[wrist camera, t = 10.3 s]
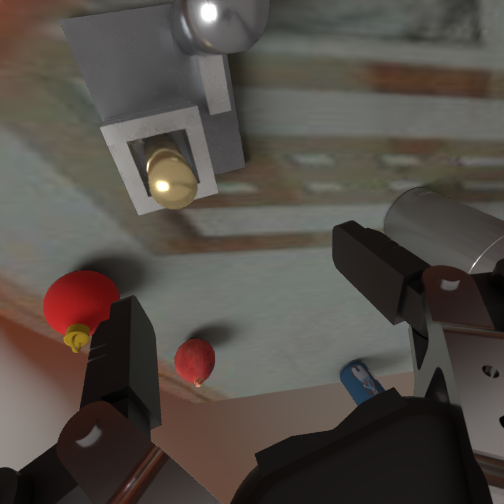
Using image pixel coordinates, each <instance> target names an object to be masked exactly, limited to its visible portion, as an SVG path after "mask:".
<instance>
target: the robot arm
mask: <svg viewBox="0 0 504 504" xmlns="http://www.w3.org/2000/svg"><path fill="white" fill-rule="evenodd" d="M384 228H385V233H386V235H387V236H388V237H387V236H386V235H384V234H383V233H381V232H379V231H376V230H373V229H370V228H364V227H362V226H361V225H359V224H358V223H357V222H355V221H353V220H351V221H348V222H345V223H342V224H339V225H336V226H334V228H333V235H332V257H333V262H334V264H335V266H336V268H337V269H338V271H339V272H340V273H341V274H342V275H343V276H344V277H345V278H346V279H347V280H348V281H349V282H350V283H351V284H352V285H353V286H354V287H355V288H356V289H357V290H358V291H359V292H360V293H362V294H363V295H364V296H365V297H366V298H367V299H368V300H369V301H370V302H371V303H372V304H373V305H374V306H375V307H376V308H377V309H378V310H379V311H380V312H381V313H382V314H383V315H384V316H385V317H386V318H387V319H388V320H389V321H390V322H391V323H392V324H393V325H396V324H398V323H401V322H403V321H406V322H407V323H408V324H409V329H408V332H409V339H410V347H411V354H412V362H413V369H414V377H415V378H414V380H415V382H414V383H415V384H414V396H403V397H401V395H400V394H399V393H398V392H397V390H396V389H395V388H394V387H393V388H391V389H389V390H387V391H385V392H382V393H380V394H378V395H376V396H374V397H372V398H370V399H368V400H366V401H364V402H362V403H361V404H360V405H359V406H358V407H357V408H356V409H355V410H354V411H353V412H352V413H351V414H349V415H348V416H347V417H346V418H345V419H344V420H343V421H342V422H341V423H340V424H339V425H338V426H337V427H336V428H334V429H333V430H329V431H323V432H316V433H309V434H303V435H296V436H291V437H289V438H287V439H285V440H282V441H281V442H278V443H276V444H274V445H272V446H270V447H268V448H266V449H264V450H262V451H260V452H258V453H255V457H256V460H257V463H258V465H257V466H256V467H255V468H254V469H253V470H252V471H251V472H250V473H249V474H248V475H247V477H246V478H245V479H244V480H243V482H242V483H241V485H240V486H239V488H238V489H237V491H236V493H235V495H234V497H233V499H232V501H231V503H230V504H504V221H503V220H501V219H498V218H496V217H493V216H491V215H489V214H486V213H484V212H481V211H479V210H477V209H474V208H472V207H469V206H467V205H465V204H462V203H460V202H457V201H455V200H453V199H450V198H448V197H445V196H443V195H441V194H438V193H437V192H434V191H431V190H428V189H426V188H421V187H419V188H414V189H412V190H410V191H408V192H406V193H405V194H403V195H402V196H401V197H400V198H399V199H398V200H397V201H396V202H395V203H394V204H393V206H392V207H391V209H390V210H389V212H388V214H387V217H386V220H385V225H384ZM88 361H89V363H87V369H86V374H85V380H84V386H83V393H82V398H81V404H80V409H79V411H77V412H76V413H75V414H74V415H73V416H72V417H71V418H70V419H69V420H68V422H67V423H66V424H65V426H64V428H63V429H62V431H61V433H60V435H59V438H58V441H57V443H56V444H55V445H54V446H52V447H51V448H50V449H48V450H47V451H46V452H44V453H43V454H42V455H40V456H39V457H37V458H36V459H35V460H33V461H32V462H31V463H29V464H28V465H26V466H25V467H24V468H22V469H21V470H20V471H18V472H17V471H15V470H13V469H11V468H8V467H2V468H0V504H222V503H221V502H220V501H219V500H218V499H217V498H216V497H214V496H213V495H212V494H211V493H210V492H209V491H208V490H207V489H206V488H205V487H203V486H202V485H201V484H200V483H199V482H198V481H197V480H196V479H195V478H193V477H192V476H191V475H190V474H189V473H188V472H187V471H186V470H185V469H183V468H182V467H181V466H180V465H179V464H178V463H177V462H176V461H175V460H174V459H172V458H171V457H170V456H169V455H168V454H167V453H166V452H165V451H163V450H162V449H161V448H159V447H157V446H156V445H155V444H154V443H153V442H152V441H151V436H150V430H151V429H153V428H156V427H158V426H160V425H162V424H161V409H160V395H159V379H158V365H157V350H156V337H155V332H154V329H153V326H152V324H151V322H150V320H149V318H148V317H147V315H146V313H145V311H144V310H143V308H142V306H141V305H140V303H139V301H138V299H137V298H136V297H135V296H134V295H132V296H129V297H126V298H123V299H120V300H118V301H115V302H112V303H111V306H110V315H109V319H107V320H104V321H101V322H100V323H99V325H98V327H97V328H96V330H95V332H94V333H93V335H92V339H91V345H90V352H89V357H88Z"/></svg>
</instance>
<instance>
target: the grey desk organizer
mask: <svg viewBox="0 0 504 504" xmlns="http://www.w3.org/2000/svg"><path fill="white" fill-rule="evenodd" d="M269 11H270V0H175V1H174V3H172V4H165V5H158V6H151V7H145V8H138V9H131V10H124V11H117V12H110V13H103V14H96V15H89V16H82V17H76V18H69V19H62V20H59V22H60V24H61V27H62V29H63V31H64V34H65V36H66V38H67V40H68V43H69V45H70V47H71V50H72V52H73V54H74V57H75V59H76V61H77V64H78V66H79V68H80V71H81V73H82V75H83V77H84V80H85V82H86V84H87V87H88V89H89V91H90V94H91V96H92V98H93V101H94V103H95V105H96V108H97V110H98V112H99V115H100V117H101V119H102V121H103V122H102V124H101V126H100V129H101V131H102V134H103V136H104V138H105V140H106V143H107V145H108V147H109V149H110V152H111V154H112V156H113V158H114V161H115V163H116V165H117V167H118V170H119V172H120V174H121V176H122V179H123V181H124V183H125V186H126V188H127V190H128V192H129V195H130V197H131V199H132V201H133V204H134V206H135V208H136V210H137V213H138V215H142V214H145V213H149V212H152V211H156V210H159V209H163V208H165V207H163V206H161V205H160V204H158V203H157V202H156V201H155V200H154V198H153V197H152V195H151V192H150V186H149V179H148V172H147V164H146V157H145V145H146V143H147V141H148V140H149V139H150V138H151V137H153V136H155V135H166V136H169V137H170V138H172V139H173V140H174V141H175V142H176V144H177V145H178V147H179V149H180V151H181V153H182V154H183V156H184V158H185V160H186V161H187V163H188V165H189V167H190V169H191V170H192V172H193V174H194V176H195V178H196V180H197V184H198V190H197V194H196V197H195V198H194V200H195V199H198V198H202V197H205V196H209V195H212V194H216V193H218V190H217V185H216V181H215V177H214V175H218V174H222V173H225V172H229V171H233V170H236V169H240V168H244V167H245V161H244V155H243V149H242V143H241V136H240V130H239V124H238V118H237V112H236V106H235V100H234V94H233V88H232V82H231V75H230V69H229V63H228V57H227V54H231V53H238V52H242V51H245V50H247V49H249V48H250V47H252V46H253V45H254V44H255V43H256V42H257V41H258V40H259V39H260V37H261V35H262V34H263V32H264V30H265V27H266V25H267V21H268V17H269Z"/></svg>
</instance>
